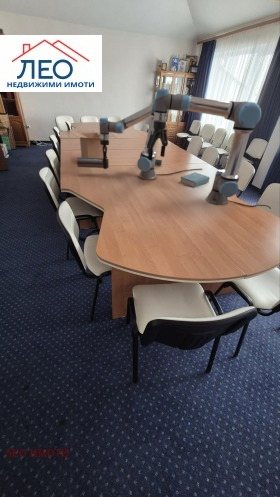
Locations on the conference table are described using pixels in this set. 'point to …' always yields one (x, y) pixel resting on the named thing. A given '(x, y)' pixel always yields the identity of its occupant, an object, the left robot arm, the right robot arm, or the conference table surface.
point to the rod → (91, 162)
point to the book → (194, 179)
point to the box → (90, 144)
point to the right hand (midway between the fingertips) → (156, 158)
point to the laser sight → (158, 162)
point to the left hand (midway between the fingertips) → (105, 167)
